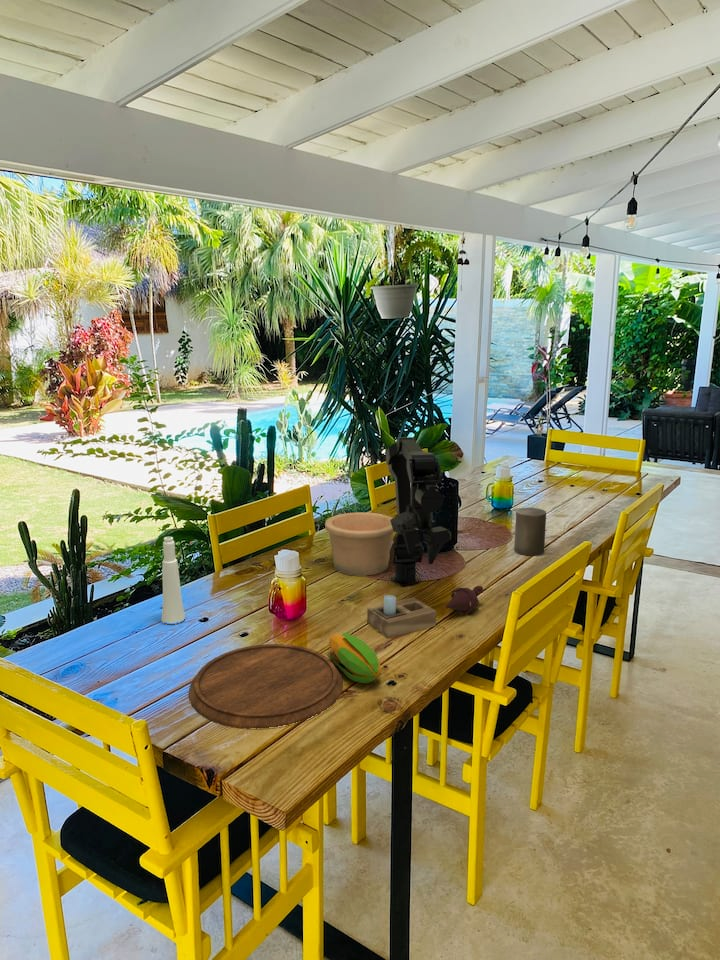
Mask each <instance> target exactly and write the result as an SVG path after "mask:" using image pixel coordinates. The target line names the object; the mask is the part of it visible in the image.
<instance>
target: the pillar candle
mask: <svg viewBox="0 0 720 960" xmlns="http://www.w3.org/2000/svg"><path fill="white" fill-rule="evenodd" d="M546 525H547V511H546V510H544V509H543V508H542V509H541V508H537V507H536V508H535V507H521V508H517V509H516V510H515V526H514V544H513V545H514V546H513V547H514V548H513V551H514V552H515V553H517V554H519V555H523V556H530V557H534V556H535V557H536V556H541V555H543V554H544V553H545V546H546V545H545V544H546V543H545V541H546Z"/></svg>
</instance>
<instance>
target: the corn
mask: <svg viewBox="0 0 720 960" xmlns="http://www.w3.org/2000/svg"><path fill="white" fill-rule="evenodd" d="M328 644H329V646H330V648H331V650H332V651H333V653H334V654H335V656H336V658H337V659H338V661H339V662H340V664H342V665H343V666H344V667H345V668H343V667H342V666H341V665H340V664H338V663H337V662H336V661H335V660H334V659H333V658H332V657H331V656H330V655H329V653H326V655H327V656H328V657H329V658H328V659H329V660H330V661H331V662H332V663H333V664H334V666H335V667H336V668H337V669H338V670H340V671H341V672H342V673H343V674H344V675H345V676H346V677H347V678H348V679H349V680H350V681H352V682H355V683H357V682H358V684H369V683H371V682H376V681H377V680H378V679H379V678H380V677H381V675H382V671H383V669H382V666H381V662H380V660H379V658H378V656H377V653H376V652H375V650H374V649H372V648H371V647H370V646H369V645H368V644H366V643H365V641H363V640H362V639H360V638H359V637H357V636H356V635H352V634H350V633H347V632H343V633H342V635H340V634H333V635H332V636H329V642H328ZM346 669H347V670H348V671H347V670H346Z"/></svg>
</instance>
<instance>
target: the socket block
mask: <svg viewBox="0 0 720 960" xmlns="http://www.w3.org/2000/svg"><path fill="white" fill-rule="evenodd" d="M366 610H367V612H366V615H367V619H366V622H367V624H368V625H370V626H371V627H372V628H374V629H375V630H376V631H378V632H379V633H380V634H382V635H383V636H384V637H386V638H387V639H391V638H394V637H399V636H402V635H406V634H410V633H414V632H418V631H421V630H425V629H429V628H432V627H436V626H437V625H436V624H437V611H436V610H435V609H434V608H432V607H430V606H429V605H427V604H425V603H424V602H422V601H420V600H419V599H417V598H415V597H409V598H405V599H401V600H396V614H394V615H390V616H386V615H385V614H384V603H383V604H380V605H375V606H371V607H367V609H366Z"/></svg>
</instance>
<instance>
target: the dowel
mask: <svg viewBox="0 0 720 960" xmlns="http://www.w3.org/2000/svg"><path fill="white" fill-rule="evenodd" d="M396 601H397V597H396V595H393V594H386V595H384V596H383V604H384V614H385V615H386V616H390V615H394V614H396Z"/></svg>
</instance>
